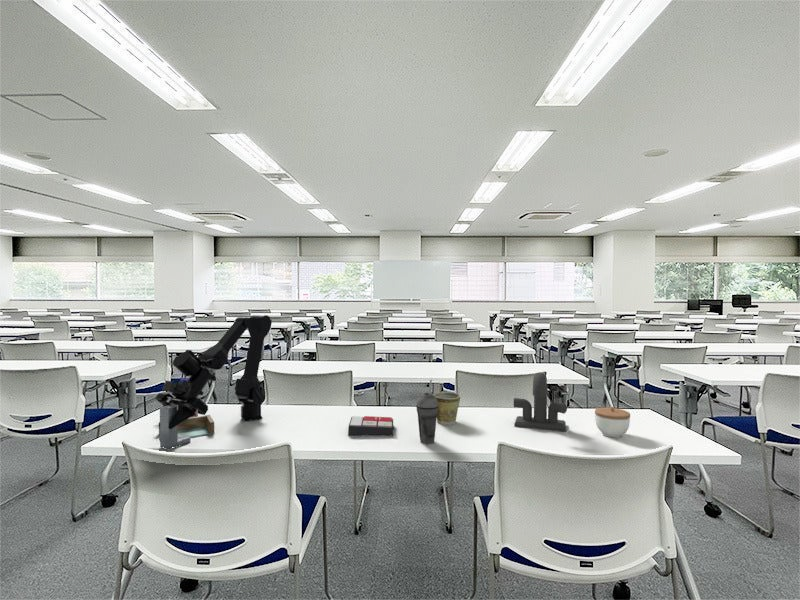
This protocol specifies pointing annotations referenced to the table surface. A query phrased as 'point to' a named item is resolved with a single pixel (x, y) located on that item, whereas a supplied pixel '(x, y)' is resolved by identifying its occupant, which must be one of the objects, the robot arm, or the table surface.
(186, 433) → the tray
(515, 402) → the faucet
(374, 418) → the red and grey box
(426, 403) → the beverage cup
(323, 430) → the table surface
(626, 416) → the lidded jar
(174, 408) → the angle bracket
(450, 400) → the ceramic cup
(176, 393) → the robot arm
